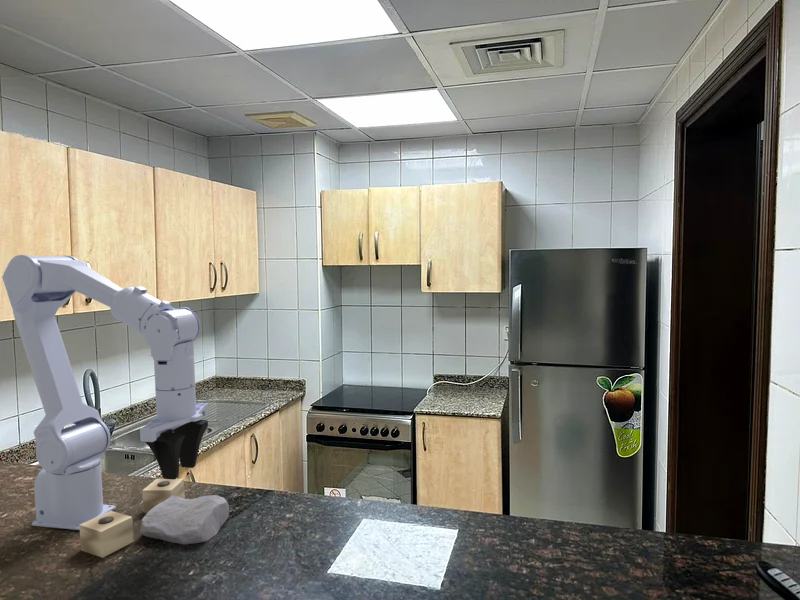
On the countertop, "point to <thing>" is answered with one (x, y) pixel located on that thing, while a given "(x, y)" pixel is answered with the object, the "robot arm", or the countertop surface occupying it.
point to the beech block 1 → (106, 533)
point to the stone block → (186, 519)
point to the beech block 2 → (161, 492)
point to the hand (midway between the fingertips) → (179, 472)
